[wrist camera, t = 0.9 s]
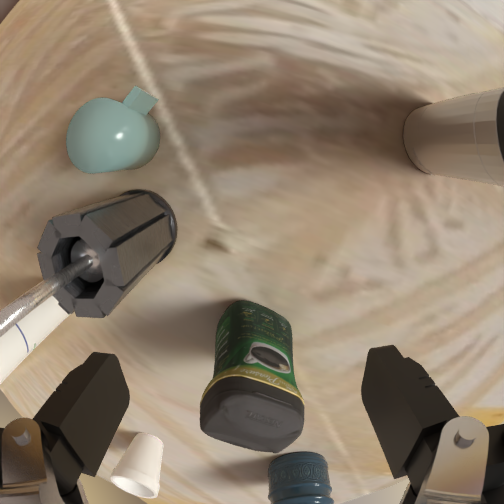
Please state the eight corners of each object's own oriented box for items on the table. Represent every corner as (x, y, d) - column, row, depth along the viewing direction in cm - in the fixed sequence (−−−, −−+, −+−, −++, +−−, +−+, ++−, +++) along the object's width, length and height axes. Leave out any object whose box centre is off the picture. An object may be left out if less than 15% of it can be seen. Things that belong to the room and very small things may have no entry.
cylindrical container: (73, 286, 38) (-37, 381, 14) (73, 323, 40) (-16, 422, 16) (41, 271, 37) (-68, 348, 13) (42, 307, 39) (-49, 390, 15)
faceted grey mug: (134, 173, 33) (61, 185, 18) (192, 223, 35) (148, 265, 20) (90, 243, 36) (20, 285, 21) (142, 289, 37) (89, 352, 23)
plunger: (87, 227, 23) (-75, 317, 6) (118, 256, 23) (-29, 382, 6) (70, 258, 23) (-67, 357, 7) (100, 286, 24) (-26, 410, 7)
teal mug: (141, 85, 29) (107, 67, 21) (184, 118, 31) (159, 104, 22) (96, 147, 32) (55, 146, 23) (135, 181, 33) (99, 188, 25)
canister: (286, 481, 52) (289, 540, 35) (256, 462, 49) (254, 530, 32) (335, 464, 50) (347, 526, 33) (310, 443, 47) (319, 517, 30)
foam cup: (157, 456, 50) (144, 500, 38) (122, 436, 49) (104, 480, 36) (178, 444, 48) (165, 494, 36) (140, 422, 46) (120, 472, 34)
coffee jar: (210, 334, 39) (182, 439, 21) (236, 289, 37) (217, 393, 19) (270, 361, 40) (274, 467, 23) (300, 320, 38) (323, 428, 20)
